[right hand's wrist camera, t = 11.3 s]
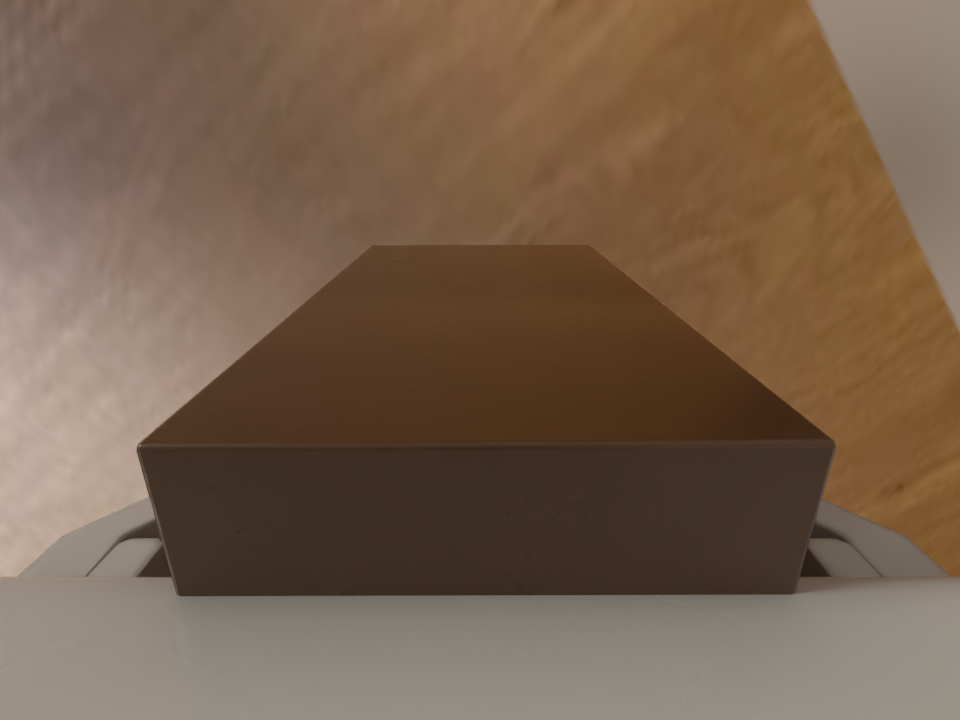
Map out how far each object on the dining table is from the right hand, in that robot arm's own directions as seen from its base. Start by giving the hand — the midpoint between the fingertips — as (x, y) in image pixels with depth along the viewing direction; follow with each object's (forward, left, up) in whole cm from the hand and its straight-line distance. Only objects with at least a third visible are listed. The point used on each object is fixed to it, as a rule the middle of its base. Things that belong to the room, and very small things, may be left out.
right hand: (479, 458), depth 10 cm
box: (+7, +3, -5) cm, 9 cm away
